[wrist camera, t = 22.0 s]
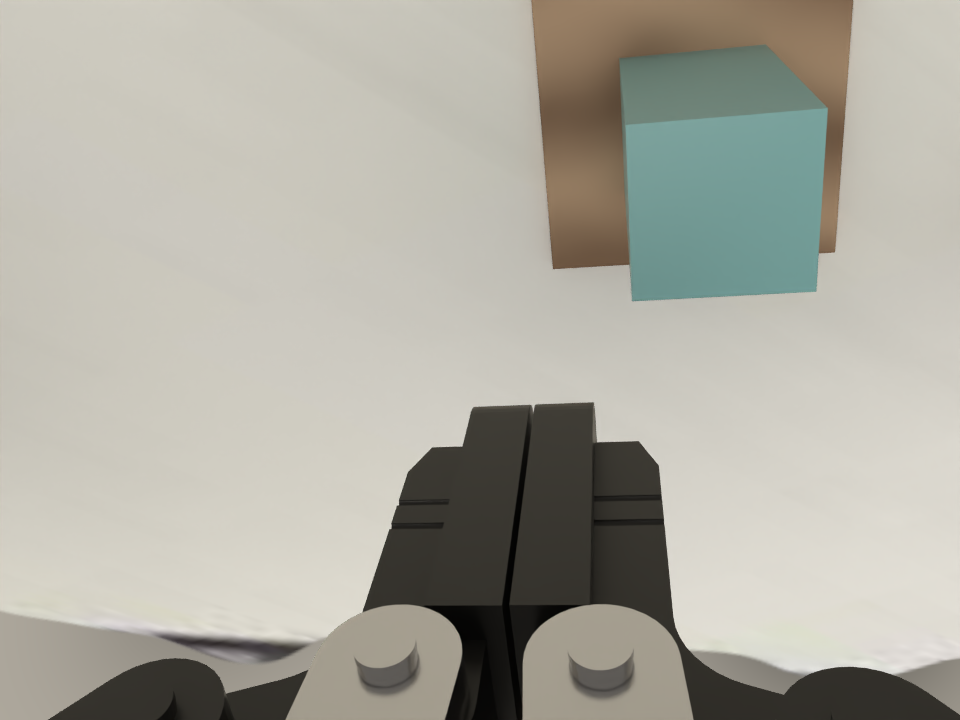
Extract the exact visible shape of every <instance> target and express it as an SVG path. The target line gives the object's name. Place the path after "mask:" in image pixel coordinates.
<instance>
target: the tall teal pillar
mask: <svg viewBox="0 0 960 720" xmlns="http://www.w3.org/2000/svg"><path fill="white" fill-rule="evenodd" d="M619 65H620V90H621V115H622V140H623V165H624V191H625V207H626V221H627V235H628V249H629V263H630V277H631V291H632V301H646V300H665V299H684V298H703V297H722V296H741V295H760V294H779V293H797V292H816V286H817V271H818V255H819V239H820V223H821V208H822V192H823V176H824V160H825V145H826V129H827V113H828V108H827V107H826V106H825V105H824V104H823V103H822V102H821V101H820V100H819V99H818V98H817V97H816V96H815V94H814V93H813V92H812V91H811V90H810V89H809V88H808V87H807V86H806V85H805V84H804V83H803V82H802V81H801V80H800V79H799V78H798V77H797V76H796V75H795V74H794V73H793V72H792V71H791V70H790V69H789V68H788V67H787V66H786V65H785V64H784V63H783V62H782V61H781V60H780V59H779V58H778V57H777V56H776V54H775V53H774V52H773V51H772V50H771V49H770V48H769V47H768V46H767V45H766V44H765V45H754V46H744V47H733V48H722V49H712V50H701V51H691V52H680V53H669V54H659V55H648V56H638V57H627V58H619Z"/></svg>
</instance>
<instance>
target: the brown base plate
mask: <svg viewBox="0 0 960 720" xmlns="http://www.w3.org/2000/svg"><path fill="white" fill-rule="evenodd" d="M852 9H853V0H532V13H533V25H534V38H535V50H536V63H537V75H538V88H539V100H540V113H541V125H542V137H543V150H544V162H545V175H546V187H547V200H548V212H549V225H550V237H551V250H552V262H553V269H562V268H579V267H596V266H613V265H630V263H629V249H628V235H627V221H626V207H625V191H624V165H623V140H622V115H621V90H620V65H619V58H627V57H638V56H648V55H659V54H669V53H680V52H691V51H701V50H712V49H722V48H733V47H744V46H754V45H765V44H766V45H767V46H768V47H769V48H770V49H771V50H772V51H773V52H774V53H775V54H776V56H777V57H778V58H779V59H780V60H781V61H782V62H783V63H784V64H785V65H786V66H787V67H788V68H789V69H790V70H791V71H792V72H793V73H794V74H795V75H796V76H797V77H798V78H799V79H800V80H801V81H802V82H803V83H804V84H805V85H806V86H807V87H808V88H809V89H810V90H811V91H812V92H813V93H814V94H815V96H816V97H817V98H818V99H819V100H820V101H821V102H822V103H823V104H824V105H825V106H826V107H827V108H828V113H827V129H826V145H825V160H824V176H823V192H822V208H821V223H820V239H819V253H832V252H835V244H836V230H837V217H838V203H839V189H840V175H841V161H842V147H843V133H844V120H845V106H846V92H847V78H848V64H849V50H850V36H851V23H852Z"/></svg>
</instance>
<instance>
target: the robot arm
mask: <svg viewBox="0 0 960 720" xmlns="http://www.w3.org/2000/svg"><path fill="white" fill-rule="evenodd" d="M391 524H392V529H389V532H388V535H387V539H386V542H385V545H384V548H383V551H382V554H381V557H380V560H379V563H378V566H377V569H376V572H375V575H374V578H373V581H372V585H371V588H370V591H369V594H368V597H367V600H366V603H365V606H364V609H363V612H362V613H360V614H358V615H356V616H354V617H352V618H350V619H348V620H347V621H345V622H344V623H343V624H341V625H340V626H338V627H337V628H336V629H335V630H334V631H333V632H332V633H330V634H329V635H328V637H327V638H326V639H325V640H324V642H323V643H322V644H321V646H320V648H319V649H318V651H317V653H316V655H315V657H314V659H313V662H312V664H311V666H310V668H309V670H307V671H304V672H302V673H300V674H297V675H295V676H292V677H288V678H286V679H282V680H278V681H274V682H270V683H266V684H263V685H259V686H255V687H251V688H247V689H243V690H239V691H235V692H231V693H227V694H226V693H225V690H224V687H223V684H222V682H221V680H220V678H219V676H218V675H217V674H216V673H215V671H214V670H212V669H211V668H210V667H208V666H207V665H205V664H202V663H200V662H198V661H193V660H189V659H176V658H174V659H162V660H158V661H153V662H149V663H146V664H143V665H140V666H136V667H134V668H132V669H130V670H128V671H125V672H123V673H121V674H120V675H118V676H116V677H114V678H113V679H111V680H109V681H108V682H106V683H105V684H103V685H102V686H100V687H99V688H97V689H95V690H94V691H92V692H91V693H89V694H88V695H86V696H84V697H83V698H81V699H80V700H79V701H77V702H75V703H74V704H72V705H70V706H69V707H67V708H66V709H64V710H63V711H61V712H59V713H58V714H56V715H55V716H53V717H52V718H50V719H49V720H960V715H959V714H958V713H956V712H955V711H953V710H952V709H950V708H949V707H947V706H946V705H945V704H943V703H942V702H940V701H939V700H937V699H936V698H935V697H933V696H932V695H930V694H929V693H927V692H926V691H924V690H923V689H921V688H919V687H918V686H916V685H914V684H912V683H910V682H908V681H906V680H904V679H902V678H900V677H897V676H894V675H891V674H888V673H885V672H882V671H877V670H872V669H868V668H858V667H836V668H830V669H824V670H820V671H817V672H814V673H811V674H809V675H807V676H805V677H804V678H802V679H800V680H798V681H797V682H796V683H795V684H794V685H792V686H791V687H790V688H789V689H788V691H787V692H786V693H785V695H782V694H779V693H775V692H771V691H768V690H764V689H760V688H757V687H753V686H749V685H746V684H743V683H740V682H737V681H734V680H731V679H729V678H727V677H725V676H723V675H721V674H719V673H717V672H715V671H714V670H712V669H710V668H709V667H707V666H706V665H704V664H703V663H702V662H701V661H700V660H698V659H697V658H696V657H695V656H694V655H693V654H692V653H691V652H690V651H689V650H688V649H687V648H686V646H685V645H684V643H683V642H682V640H681V639H680V637H679V635H678V632H677V630H676V628H675V623H674V618H673V609H672V599H671V589H670V578H669V568H668V557H667V547H666V537H665V526H664V516H663V505H662V496H661V485H660V474H659V465H658V464H657V463H656V462H655V461H654V459H653V458H652V457H651V456H650V455H649V453H648V452H647V451H646V450H645V448H644V447H643V446H642V445H641V444H640V442H639V441H633V442H598V443H597V437H596V421H595V408H594V402H593V403H565V404H537V405H535V408H534V413H533V409H532V406H531V405H515V406H487V407H473V409H472V411H471V415H470V419H469V423H468V427H467V431H466V435H465V439H464V443H463V447H434V448H431V449H430V450H429V451H428V452H427V453H426V455H425V456H424V457H423V458H422V459H421V460H420V461H419V462H418V463H417V464H416V465H415V466H414V467H413V468H412V469H411V470H410V471H409V472H408V474H407V477H406V480H405V483H404V486H403V489H402V492H401V496H400V499H399V506H397V508H396V511H395V514H394V517H393V520H392V523H391Z"/></svg>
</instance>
